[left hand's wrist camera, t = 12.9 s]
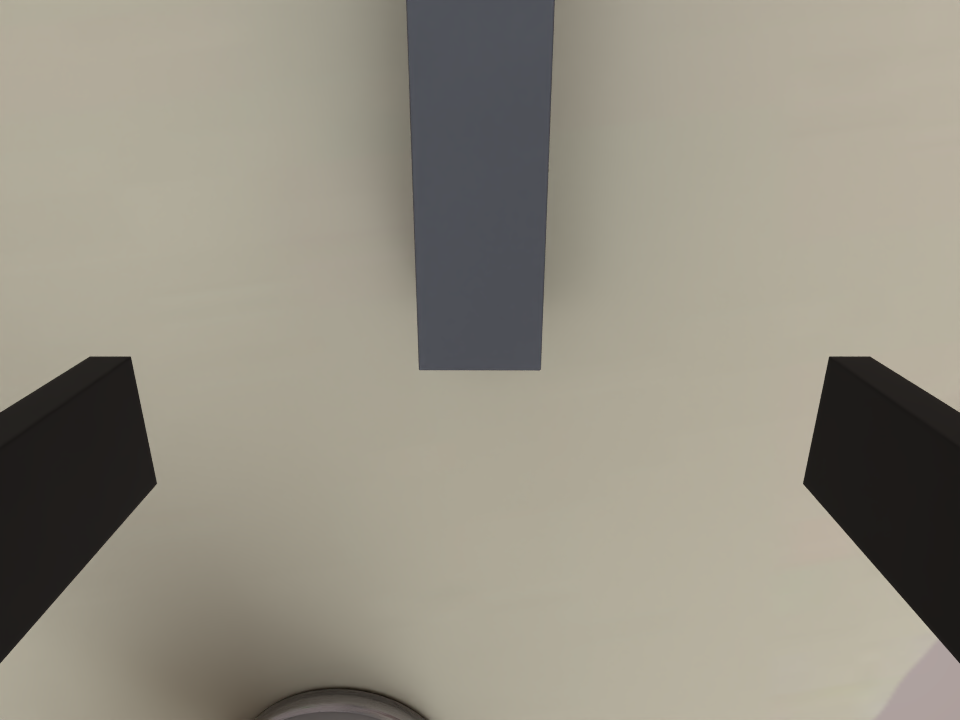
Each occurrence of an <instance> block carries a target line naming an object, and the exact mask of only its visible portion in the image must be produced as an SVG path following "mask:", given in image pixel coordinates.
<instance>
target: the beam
mask: <svg viewBox="0 0 960 720" xmlns="http://www.w3.org/2000/svg"><path fill="white" fill-rule="evenodd" d="M554 5H555V0H406V7H407V36H408V65H409V94H410V123H411V152H412V181H413V210H414V239H415V268H416V296H417V325H418V354H419V370H541V350H542V323H543V297H544V270H545V244H546V217H547V190H548V164H549V137H550V111H551V84H552V58H553V31H554Z"/></svg>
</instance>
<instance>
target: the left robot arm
mask: <svg viewBox="0 0 960 720" xmlns="http://www.w3.org/2000/svg"><path fill="white" fill-rule="evenodd" d="M156 484H157V482H156V477H155V472H154V467H153V462H152V457H151V452H150V448H149V443H148V438H147V433H146V428H145V423H144V418H143V414H142V409H141V404H140V399H139V394H138V389H137V384H136V380H135V375H134V370H133V365H132V360H131V357H89V358H87V359H85V360H84V361H82V362H81V363H79V364H77V365H76V366H74V367H73V368H71V369H69V370H68V371H66V372H65V373H63V374H61V375H60V376H58V377H57V378H55V379H53V380H52V381H50V382H49V383H47V384H45V385H44V386H42V387H41V388H39V389H37V390H36V391H34V392H32V393H31V394H29V395H28V396H26V397H24V398H23V399H21V400H20V401H18V402H16V403H15V404H13V405H12V406H10V407H8V408H7V409H5V410H4V411H2V412H0V663H1V662H2V661H3V660H4V658H5V657H6V656H7V655H8V654H9V653H10V651H11V650H12V649H13V648H14V647H15V646H16V645H17V643H18V642H19V641H20V640H21V639H22V638H23V637H24V635H25V634H26V633H27V632H28V631H29V630H30V629H31V627H32V626H33V625H34V624H35V623H36V622H37V621H38V619H39V618H40V617H41V616H42V615H43V614H44V613H45V611H46V610H47V609H48V608H49V607H50V606H51V605H52V603H53V602H54V601H55V600H56V599H57V598H58V596H59V595H60V594H61V593H62V592H63V591H64V590H65V588H66V587H67V586H68V585H69V584H70V583H71V582H72V580H73V579H74V578H75V577H76V576H77V575H78V574H79V572H80V571H81V570H82V569H83V568H84V567H85V566H86V564H87V563H88V562H89V561H90V560H91V559H92V558H93V556H94V555H95V554H96V553H97V552H98V551H99V550H100V548H101V547H102V546H103V545H104V544H105V543H106V541H107V540H108V539H109V538H110V537H111V536H112V535H113V533H114V532H115V531H116V530H117V529H118V528H119V527H120V525H121V524H122V523H123V522H124V521H125V520H126V519H127V517H128V516H129V515H130V514H131V513H132V512H133V511H134V509H135V508H136V507H137V506H138V505H139V504H140V503H141V501H142V500H143V499H144V498H145V497H146V496H147V495H148V493H149V492H150V491H151V490H152V489H153V488H154V486H155V485H156ZM803 484H804V485H805V486H806V488H807V489H808V490H809V491H810V492H811V493H812V495H813V496H814V497H815V498H816V499H817V500H818V501H819V503H820V504H821V505H822V506H823V507H824V508H825V509H826V511H827V512H828V513H829V514H830V515H831V516H832V517H833V519H834V520H835V521H836V522H837V523H838V524H839V525H840V527H841V528H842V529H843V530H844V531H845V532H846V533H847V535H848V536H849V537H850V538H851V539H852V540H853V541H854V543H855V544H856V545H857V546H858V547H859V548H860V550H861V551H862V552H863V553H864V554H865V555H866V556H867V558H868V559H869V560H870V561H871V562H872V563H873V564H874V566H875V567H876V568H877V569H878V570H879V571H880V572H881V574H882V575H883V576H884V577H885V578H886V579H887V580H888V582H889V583H890V584H891V585H892V586H893V587H894V588H895V590H896V591H897V592H898V593H899V594H900V595H901V596H902V598H903V599H904V600H905V601H906V602H907V603H908V605H909V606H910V607H911V608H912V609H913V610H914V611H915V613H916V614H917V615H918V616H919V617H920V618H921V619H922V621H923V622H924V623H925V624H926V625H927V626H928V627H929V629H930V630H931V631H932V632H933V633H934V634H935V635H936V637H937V638H938V639H939V640H940V641H941V642H942V643H943V645H944V646H945V647H946V648H947V649H948V650H949V651H950V653H951V654H952V655H953V656H954V657H955V658H956V660H957V661H958V662H959V663H960V412H958V411H956V410H955V409H953V408H952V407H950V406H948V405H947V404H945V403H944V402H942V401H940V400H939V399H937V398H936V397H934V396H932V395H931V394H929V393H928V392H926V391H924V390H923V389H921V388H919V387H918V386H916V385H915V384H913V383H911V382H910V381H908V380H907V379H905V378H903V377H902V376H900V375H899V374H897V373H895V372H894V371H892V370H891V369H889V368H887V367H886V366H884V365H883V364H881V363H879V362H878V361H876V360H875V359H873V358H871V357H829V360H828V365H827V370H826V375H825V380H824V384H823V389H822V394H821V399H820V404H819V409H818V414H817V418H816V423H815V428H814V433H813V438H812V443H811V448H810V452H809V457H808V462H807V467H806V472H805V477H804V482H803ZM255 720H425V719H424V718H422V717H421V716H420V715H419V714H417V713H416V712H414V711H413V710H411V709H410V708H408V707H406V706H404V705H403V704H401V703H399V702H396V701H394V700H392V699H389V698H386V697H383V696H380V695H377V694H373V693H369V692H364V691H358V690H350V689H325V690H315V691H310V692H305V693H301V694H297V695H294V696H291V697H289V698H286V699H284V700H282V701H280V702H277V703H276V704H274V705H272V706H271V707H269V708H268V709H266V710H265V711H264V712H262V713H261V714H260V715H259V716H258V717H257V718H256V719H255Z"/></svg>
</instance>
